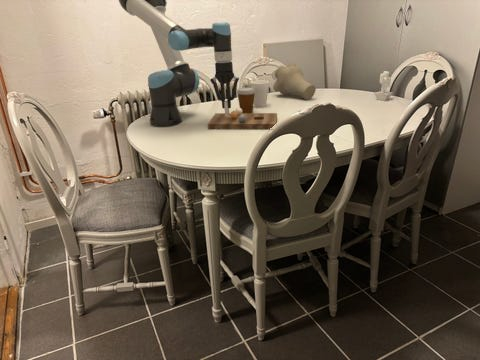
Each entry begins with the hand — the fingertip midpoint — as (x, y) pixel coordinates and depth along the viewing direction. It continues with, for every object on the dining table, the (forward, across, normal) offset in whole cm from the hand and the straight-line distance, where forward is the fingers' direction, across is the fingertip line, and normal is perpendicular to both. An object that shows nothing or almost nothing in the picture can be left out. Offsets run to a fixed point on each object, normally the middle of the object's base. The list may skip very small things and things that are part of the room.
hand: (227, 115), depth 162 cm
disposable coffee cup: (+4, +6, +20) cm, 22 cm away
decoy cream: (0, +4, +6) cm, 8 cm away
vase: (+4, +31, +55) cm, 63 cm away
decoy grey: (0, +8, -6) cm, 9 cm away
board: (+4, +8, 0) cm, 9 cm away
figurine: (+5, +79, +48) cm, 93 cm away
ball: (0, +3, 0) cm, 3 cm away
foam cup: (+4, +12, +33) cm, 36 cm away
